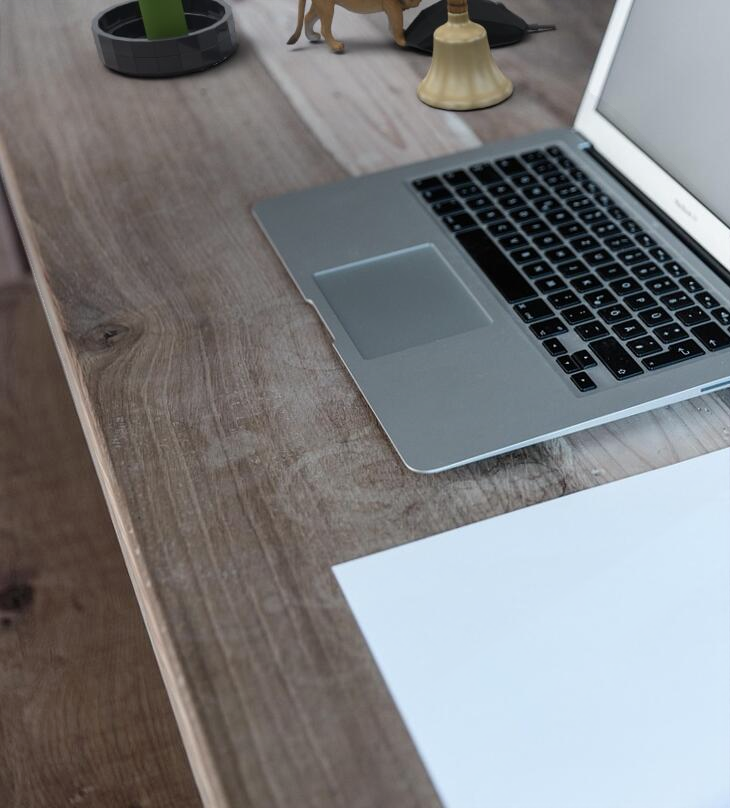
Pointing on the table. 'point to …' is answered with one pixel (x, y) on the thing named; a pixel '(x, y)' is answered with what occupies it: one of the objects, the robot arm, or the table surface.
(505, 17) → the gaming mouse
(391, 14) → the lion figurine
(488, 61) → the hand bell
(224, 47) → the pan
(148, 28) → the pickle
